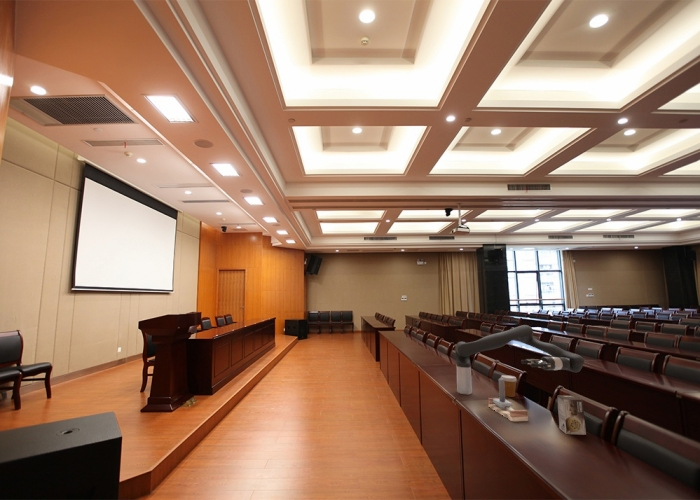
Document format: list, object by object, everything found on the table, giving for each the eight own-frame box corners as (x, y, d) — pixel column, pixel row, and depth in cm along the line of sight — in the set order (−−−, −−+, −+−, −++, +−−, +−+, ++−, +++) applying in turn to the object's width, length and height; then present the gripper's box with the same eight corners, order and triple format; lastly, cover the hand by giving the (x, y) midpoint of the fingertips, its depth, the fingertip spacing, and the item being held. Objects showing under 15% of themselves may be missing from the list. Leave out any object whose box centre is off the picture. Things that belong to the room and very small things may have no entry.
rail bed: (488, 407, 190) (488, 398, 191) (502, 406, 192) (502, 397, 192) (512, 421, 169) (511, 411, 170) (527, 420, 170) (527, 410, 171)
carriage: (492, 404, 188) (491, 377, 190) (504, 404, 189) (502, 377, 191) (501, 409, 180) (499, 381, 182) (512, 409, 181) (511, 380, 183)
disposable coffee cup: (498, 394, 216) (497, 375, 217) (508, 392, 220) (507, 374, 221) (510, 398, 207) (509, 379, 209) (520, 396, 211) (519, 377, 213)
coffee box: (578, 429, 160) (575, 395, 162) (586, 435, 154) (583, 399, 156) (558, 428, 161) (556, 394, 163) (566, 434, 154) (563, 398, 157)
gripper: (542, 354, 200) (518, 354, 197) (560, 359, 186) (534, 359, 184) (542, 367, 199) (518, 367, 196) (560, 372, 185) (535, 373, 182)
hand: (526, 363), depth 190 cm, fingers open, 8 cm apart
